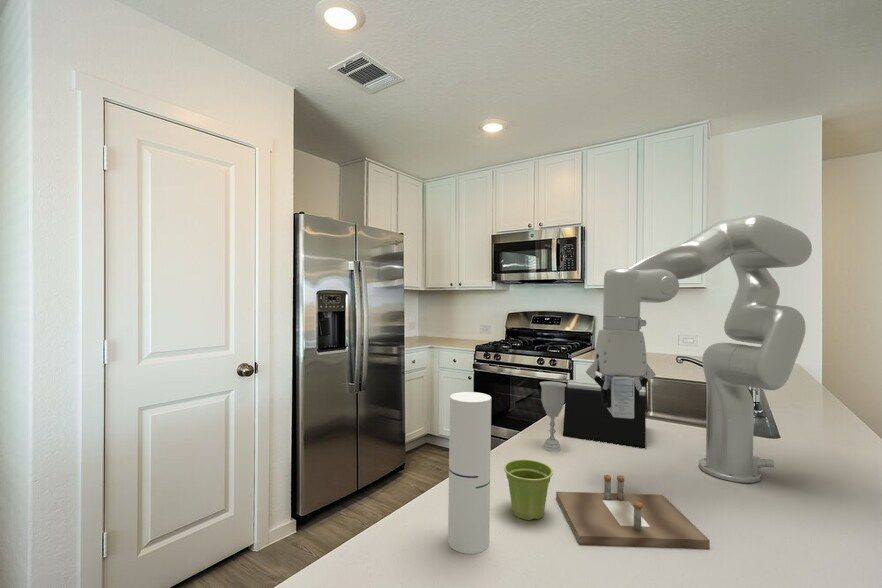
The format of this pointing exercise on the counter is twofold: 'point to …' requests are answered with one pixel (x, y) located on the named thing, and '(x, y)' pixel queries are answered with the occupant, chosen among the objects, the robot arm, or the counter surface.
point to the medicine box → (622, 397)
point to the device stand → (601, 417)
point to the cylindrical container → (469, 472)
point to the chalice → (552, 409)
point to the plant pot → (528, 487)
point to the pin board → (628, 519)
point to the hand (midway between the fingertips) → (619, 405)
